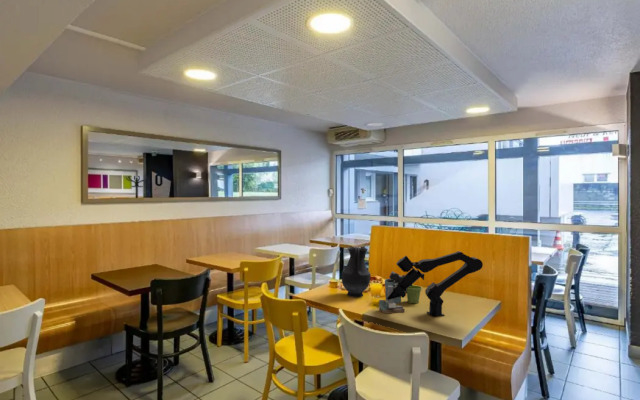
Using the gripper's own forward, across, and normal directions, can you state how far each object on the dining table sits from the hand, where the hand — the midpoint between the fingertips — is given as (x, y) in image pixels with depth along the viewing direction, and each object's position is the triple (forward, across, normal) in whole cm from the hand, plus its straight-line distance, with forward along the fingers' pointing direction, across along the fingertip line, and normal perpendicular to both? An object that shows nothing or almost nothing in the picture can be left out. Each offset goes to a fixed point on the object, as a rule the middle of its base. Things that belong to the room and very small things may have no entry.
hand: (387, 298), depth 190 cm
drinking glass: (+2, -20, +7) cm, 21 cm away
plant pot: (-5, -22, +15) cm, 27 cm away
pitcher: (+18, -26, -8) cm, 32 cm away
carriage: (+2, 0, +4) cm, 4 cm away
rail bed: (+3, 0, +6) cm, 7 cm away
